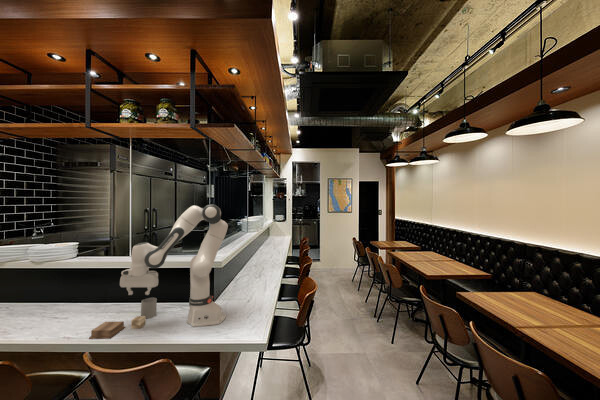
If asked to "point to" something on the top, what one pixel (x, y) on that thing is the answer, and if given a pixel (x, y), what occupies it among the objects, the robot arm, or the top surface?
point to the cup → (148, 307)
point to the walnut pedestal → (107, 330)
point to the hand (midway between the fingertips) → (139, 294)
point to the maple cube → (138, 322)
